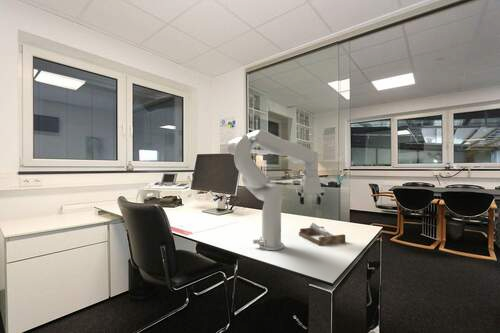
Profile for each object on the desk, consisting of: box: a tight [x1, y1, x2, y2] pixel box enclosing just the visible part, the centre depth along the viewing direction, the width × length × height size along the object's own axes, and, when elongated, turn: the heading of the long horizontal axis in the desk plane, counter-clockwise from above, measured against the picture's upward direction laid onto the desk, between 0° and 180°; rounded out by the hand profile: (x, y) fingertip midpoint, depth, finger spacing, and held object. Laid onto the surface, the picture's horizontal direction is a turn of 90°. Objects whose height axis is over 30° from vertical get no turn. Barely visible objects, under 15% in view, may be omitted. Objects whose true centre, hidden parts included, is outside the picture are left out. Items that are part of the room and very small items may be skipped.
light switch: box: [309, 222, 334, 237], centre depth 130 cm, size 8×6×14 cm
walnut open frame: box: [298, 226, 346, 246], centre depth 130 cm, size 17×19×4 cm
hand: (310, 204), depth 127 cm, fingers open, 9 cm apart
